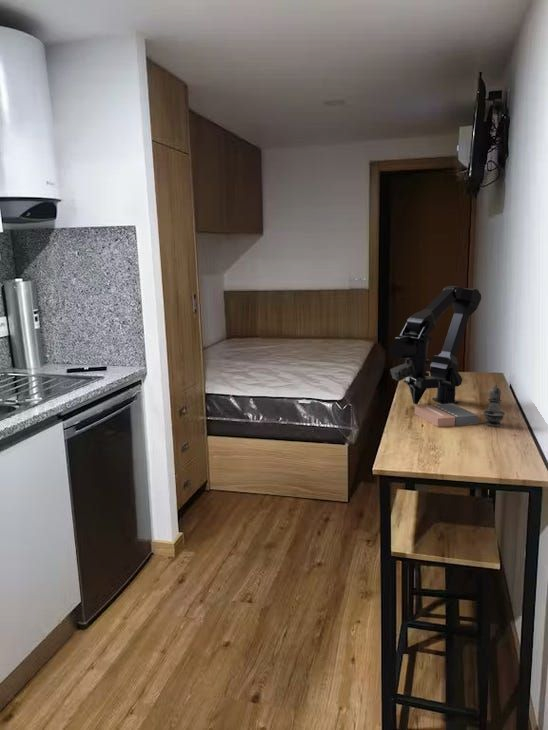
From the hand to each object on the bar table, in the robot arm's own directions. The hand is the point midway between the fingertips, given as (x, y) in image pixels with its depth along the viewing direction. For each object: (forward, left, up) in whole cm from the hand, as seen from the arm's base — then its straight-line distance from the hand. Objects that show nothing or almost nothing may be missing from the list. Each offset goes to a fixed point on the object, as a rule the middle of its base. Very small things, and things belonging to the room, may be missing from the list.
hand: (415, 403), depth 180 cm
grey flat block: (+12, +7, -2) cm, 14 cm away
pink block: (+12, 0, -2) cm, 12 cm away
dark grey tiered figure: (+21, +14, -2) cm, 25 cm away
